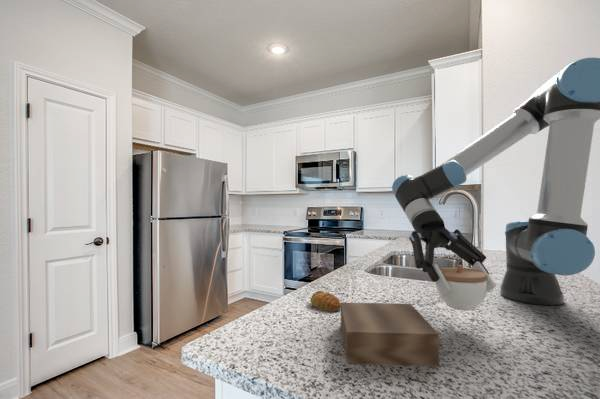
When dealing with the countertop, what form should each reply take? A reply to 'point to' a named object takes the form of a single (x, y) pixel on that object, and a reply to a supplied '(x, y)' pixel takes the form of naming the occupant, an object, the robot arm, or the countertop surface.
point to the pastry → (325, 301)
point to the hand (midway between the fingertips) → (469, 291)
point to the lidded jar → (464, 287)
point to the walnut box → (388, 335)
